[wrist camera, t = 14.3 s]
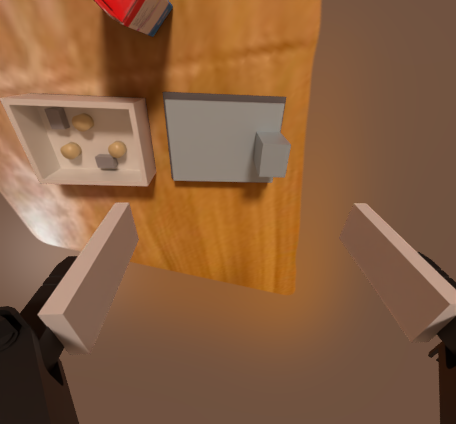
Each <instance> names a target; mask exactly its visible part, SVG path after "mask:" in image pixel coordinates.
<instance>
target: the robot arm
mask: <svg viewBox="0 0 456 424" xmlns="http://www.w3.org/2000/svg"><path fill="white" fill-rule="evenodd" d="M339 239H340V240H341V241H342V243H343V245H344V246H345V247H346V249H347V250H348V252H349V253H350V255H351V256H352V258H353V259H354V261H355V262H356V263H357V265H358V266H359V268H360V269H361V271H362V272H363V274H364V275H365V276H366V278H367V279H368V281H369V282H370V284H371V285H372V287H373V288H374V289H375V291H376V292H377V294H378V295H379V297H380V298H381V300H382V301H383V302H384V304H385V305H386V307H387V308H388V310H389V311H390V313H391V314H392V316H393V317H394V318H395V320H396V321H397V323H398V324H399V326H400V327H401V329H402V330H403V332H404V333H405V334H406V336H407V337H408V339H409V340H410V342H411V343H413V342H429V341H430V340H431V339H432V338H433V337H434V336H435V335H438V336H439V338H440V339H441V340H442V342H441V343H440V344H438V345H437V346H436V347H435V348H434V349H433V350H431V351H430V352H429V355H428V356H429V357H431V358H432V357H433V356H434V355H435V354H437V353H438V355H439V358H438V359H436V361H438V362H439V392H440V393H439V394H440V424H456V282H455V281H454V280H453V279H452V278H449V276H448V275H447V274H446V273H445V272H444V271H442V270H441V268H440V267H439V266H437V265H436V264H435V263H434V262H433V261H432V260H431V259H429V258H428V257H426V256H424V255H423V254H421V253H420V252H416V251H415V250H414V249H413V248H412V247H411V246H410V245H409V244H408V243H407V242H406V241H405V240H403V238H401V237H400V236H399V235H398V234H397V233H396V232H395V231H394V230H393V229H392V228H391V227H390V226H389V225H388V224H387V223H386V222H385V221H384V220H383V219H382V218H381V217H380V216H379V215H378V214H377V213H375V212H374V211H373V210H372V209H371V208H370V207H369V206H368V205H367V204H364V203H362V204H360V203H359V204H357V203H354V204H353V206H352V209H351V211H350V213H349V216H348V218H347V221H346V223H345V226H344V228H343V230H342V233H341V235H340V237H339ZM138 240H139V239H138V235H137V231H136V227H135V223H134V220H133V216H132V212H131V208H130V204H129V203H115V204H114V205H113V207H112V208H111V209H110V211H109V212H108V214H107V215H106V217H105V218H104V220H103V221H102V222H101V224H100V225H99V227H98V228H97V230H96V231H95V233H94V234H93V235H92V237H91V238H90V240H89V241H88V243H87V244H86V245H85V247H84V248H83V250H82V251H81V253H80V254H79V256H68V257H67V258H66V259H64V260H63V261H62V262H61V263H59V264H58V265H57V266H56V267H55V268H54V270H53V271H52V272H51V274H50V275H49V277H48V278H47V279H46V280H45V281H44V283H43V286H41V287H40V288H39V289H38V291H37V292H36V293H35V294H34V296H33V297H32V298H31V300H30V301H29V302H28V304H27V305H26V306H25V308H24V309H23V310H22V311H21V313H20V314H19V312H18V311H17V310H16V309H15V308H12V307H9V306H6V307H0V424H79V422H78V418H77V415H76V411H75V408H74V404H73V401H72V397H71V394H70V390H69V387H68V383H67V380H66V376H65V373H64V370H63V366H62V363H61V361H60V359H59V356H60V355H61V353H62V351H63V349H64V348H65V349H66V351H67V352H68V353H69V354H70V355H74V354H90V353H91V351H92V348H93V346H94V344H95V342H96V339H97V337H98V334H99V332H100V330H101V327H102V325H103V323H104V320H105V318H106V316H107V313H108V311H109V309H110V306H111V304H112V301H113V299H114V297H115V294H116V292H117V290H118V287H119V285H120V282H121V280H122V278H123V275H124V273H125V270H126V268H127V266H128V263H129V261H130V259H131V256H132V254H133V252H134V249H135V247H136V245H137V242H138Z"/></svg>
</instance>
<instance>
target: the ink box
mask: <svg viewBox="0 0 456 424" xmlns="http://www.w3.org/2000/svg"><path fill="white" fill-rule="evenodd" d="M94 1H95V2H96V3H97V4H98V5H99V6H100V7H101V9H102V10H103V11H104V12H105V13H106V14H107V15H108V16H109V17H111V18H112V19H114V20H116V21H118V22H119V23H121V24H122V25H124V26H127V27H129V28H132V29H134V30H137V31H139V32H142V33H144V34H147V35H149V36H152V37H153V36H154V35H155V33H156V32H157V30H158V29H159V27H160V26H161V24H162V23H163V21H164V20H165V18H166V17H167V15H168V14H169V13H170V11H171V10H172V8H173V6H172V5H171V3H170V2H169V1H168V0H94Z"/></svg>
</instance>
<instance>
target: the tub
mask: <svg viewBox="0 0 456 424" xmlns="http://www.w3.org/2000/svg"><path fill="white" fill-rule="evenodd" d="M0 100H1V102H2V104H3V106H4V108H5V110H6V113H7V115H8V117H9V119H10V121H11V123H12V125H13V127H14V130H15V132H16V134H17V136H18V138H19V140H20V142H21V144H22V146H23V149H24V151H25V153H26V155H27V157H28V159H29V161H30V163H31V166H32V168H33V170H34V172H35V174H36V176H37V178H38V180H39V182H40V184H74V185H116V186H148V185H149V184H150V182H151V180H152V179H153V177H154V175H155V174H156V167H155V160H154V153H153V146H152V140H151V133H150V126H149V119H148V113H147V106H146V99H145V98H133V97H108V96H83V95H59V94H34V93H30V94H23V95H17V96H10V97H3V98H0Z"/></svg>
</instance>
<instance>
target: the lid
mask: <svg viewBox="0 0 456 424" xmlns="http://www.w3.org/2000/svg"><path fill="white" fill-rule="evenodd" d="M165 105H166V114H167V123H168V132H169V141H170V150H171V160H172V169H173V178H174V181H219V182H268V183H272V180H273V177H285V174H286V169H287V163H288V158H289V153H290V148H291V144H290V143H289V142H288V141H287V140H286V139H285V137H284V136H283V135H282V134H281V133H280V130H281V123H282V117H283V111H284V105H285V104H284V103H258V102H230V101H202V100H173V99H166V100H165Z"/></svg>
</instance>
